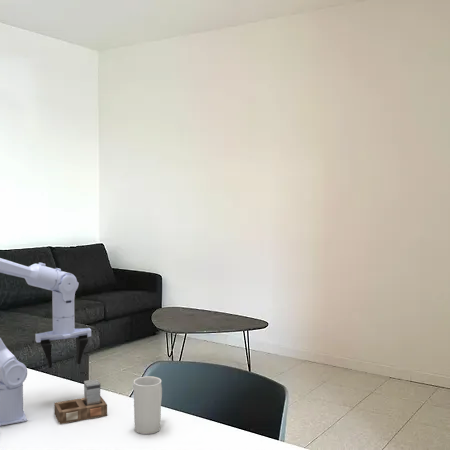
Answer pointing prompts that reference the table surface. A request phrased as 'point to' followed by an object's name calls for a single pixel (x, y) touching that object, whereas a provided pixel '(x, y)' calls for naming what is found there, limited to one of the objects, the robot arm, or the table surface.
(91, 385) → the plug
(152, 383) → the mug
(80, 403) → the port block
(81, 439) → the table surface
